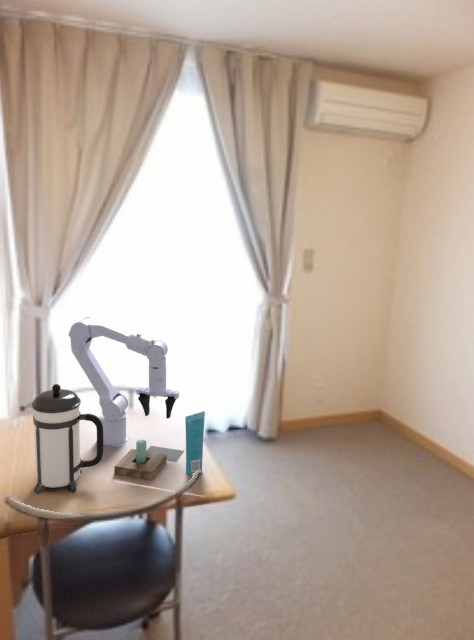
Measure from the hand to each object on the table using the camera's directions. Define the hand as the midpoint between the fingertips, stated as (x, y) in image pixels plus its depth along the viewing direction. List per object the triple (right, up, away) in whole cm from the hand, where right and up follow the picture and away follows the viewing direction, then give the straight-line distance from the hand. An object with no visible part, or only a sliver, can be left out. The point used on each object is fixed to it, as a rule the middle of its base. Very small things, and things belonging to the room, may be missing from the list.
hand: (157, 416), depth 171 cm
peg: (-3, -14, -15) cm, 20 cm away
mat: (+2, -12, -5) cm, 13 cm away
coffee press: (-24, -15, -24) cm, 37 cm away
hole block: (-3, -14, -15) cm, 20 cm away
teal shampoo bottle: (+13, -15, -15) cm, 25 cm away
